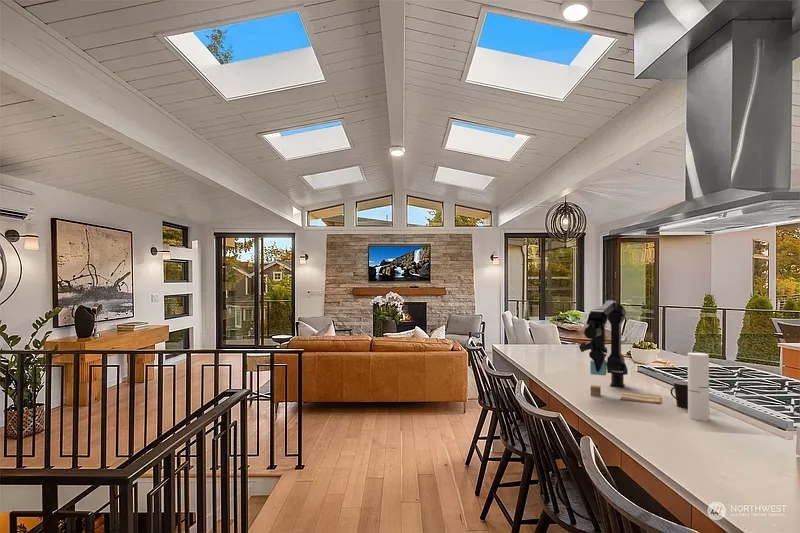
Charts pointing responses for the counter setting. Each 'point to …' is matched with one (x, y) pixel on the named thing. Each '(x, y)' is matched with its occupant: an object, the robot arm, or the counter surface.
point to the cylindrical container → (698, 386)
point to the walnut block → (595, 390)
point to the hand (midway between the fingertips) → (598, 370)
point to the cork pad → (640, 397)
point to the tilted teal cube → (602, 370)
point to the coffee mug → (681, 393)
